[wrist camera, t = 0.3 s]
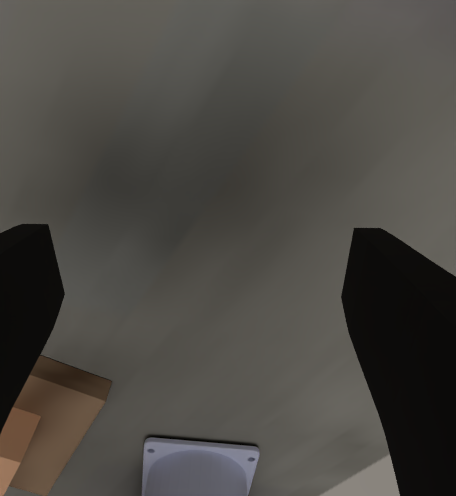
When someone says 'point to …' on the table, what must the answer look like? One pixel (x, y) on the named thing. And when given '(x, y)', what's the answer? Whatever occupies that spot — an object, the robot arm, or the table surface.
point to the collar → (15, 443)
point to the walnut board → (56, 420)
